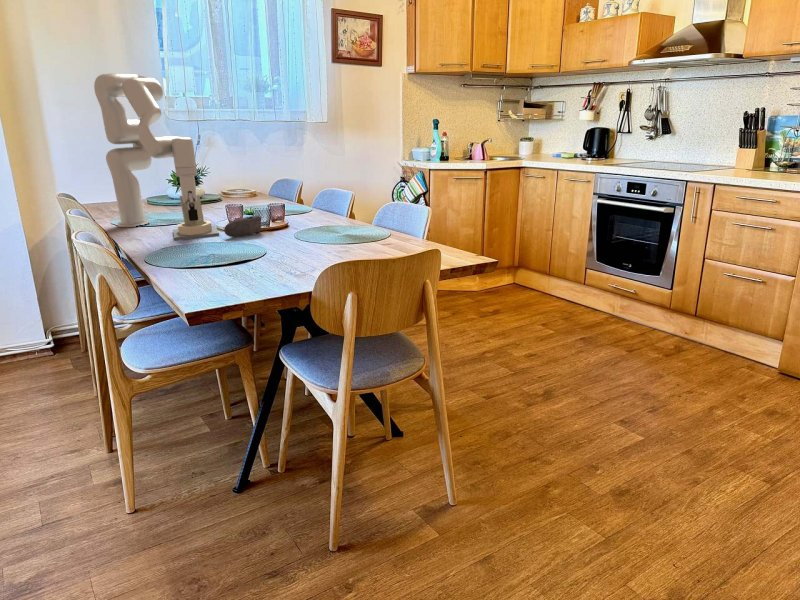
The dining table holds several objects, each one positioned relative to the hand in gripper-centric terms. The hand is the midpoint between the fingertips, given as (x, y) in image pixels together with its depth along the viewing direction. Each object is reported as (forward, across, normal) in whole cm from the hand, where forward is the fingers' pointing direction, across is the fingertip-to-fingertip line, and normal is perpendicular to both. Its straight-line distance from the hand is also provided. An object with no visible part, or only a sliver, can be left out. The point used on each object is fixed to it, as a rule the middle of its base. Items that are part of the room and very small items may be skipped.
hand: (193, 218), depth 216 cm
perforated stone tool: (+6, +13, +17) cm, 22 cm away
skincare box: (+3, 0, 0) cm, 3 cm away
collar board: (+6, 0, 0) cm, 6 cm away
